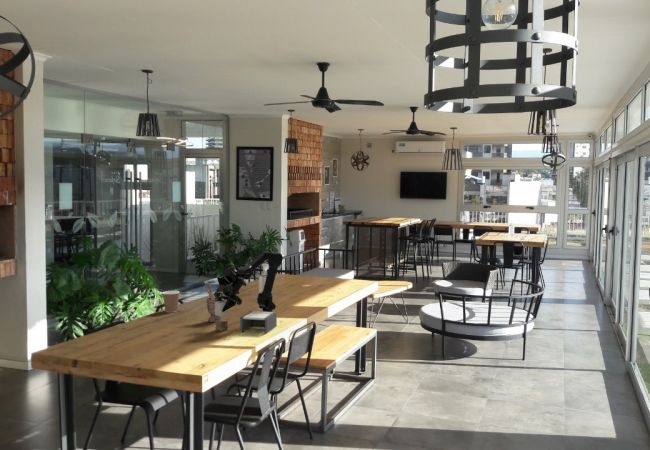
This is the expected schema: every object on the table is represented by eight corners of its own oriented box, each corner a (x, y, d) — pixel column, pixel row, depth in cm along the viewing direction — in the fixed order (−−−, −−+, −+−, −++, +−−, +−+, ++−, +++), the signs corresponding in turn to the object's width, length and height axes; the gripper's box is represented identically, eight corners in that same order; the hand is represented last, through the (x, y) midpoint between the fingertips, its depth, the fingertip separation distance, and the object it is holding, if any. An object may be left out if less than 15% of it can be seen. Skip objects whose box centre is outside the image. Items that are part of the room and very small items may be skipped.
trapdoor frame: (251, 324, 350) (250, 310, 349) (276, 326, 346) (276, 311, 346) (240, 331, 334) (240, 317, 333) (266, 333, 330) (266, 318, 330)
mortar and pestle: (199, 321, 360) (199, 286, 358) (209, 318, 367) (208, 284, 366) (216, 323, 354) (215, 288, 353) (225, 320, 362) (224, 286, 360)
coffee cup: (182, 309, 392) (181, 290, 391) (176, 313, 382) (176, 293, 381) (166, 309, 393) (165, 290, 392) (160, 313, 383) (159, 293, 382)
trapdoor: (253, 316, 349) (253, 310, 348) (273, 317, 346) (273, 311, 346) (243, 323, 334) (243, 316, 333) (264, 324, 331) (264, 317, 331)
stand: (222, 328, 342) (222, 319, 341) (227, 329, 339) (227, 320, 338) (215, 330, 338) (215, 320, 338) (221, 331, 335) (220, 322, 335)
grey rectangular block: (222, 313, 342) (221, 300, 341) (228, 314, 338) (227, 301, 338) (214, 314, 338) (214, 302, 337) (220, 316, 335) (220, 303, 334)
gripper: (215, 277, 346) (199, 300, 338) (237, 280, 333) (221, 304, 326) (227, 289, 352) (211, 311, 345) (249, 293, 340) (233, 316, 332)
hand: (219, 310), depth 337 cm, fingers closed on grey rectangular block, 5 cm apart
